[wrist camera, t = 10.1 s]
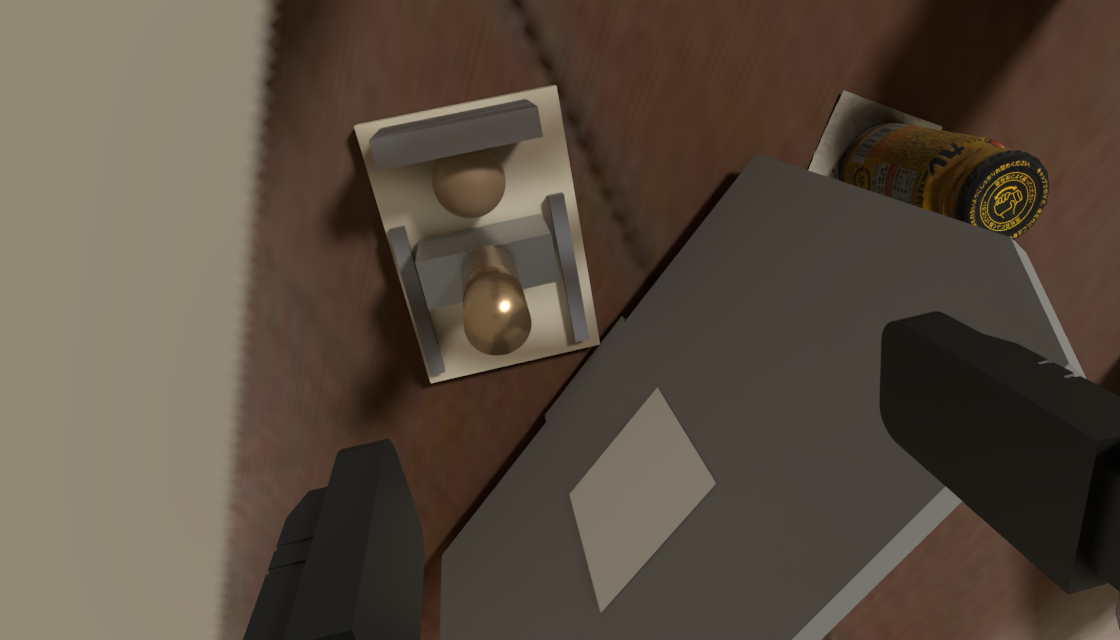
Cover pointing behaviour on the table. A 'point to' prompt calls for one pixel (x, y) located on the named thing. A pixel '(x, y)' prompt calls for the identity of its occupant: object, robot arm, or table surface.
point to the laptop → (740, 429)
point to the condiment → (932, 167)
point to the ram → (489, 278)
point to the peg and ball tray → (481, 214)
